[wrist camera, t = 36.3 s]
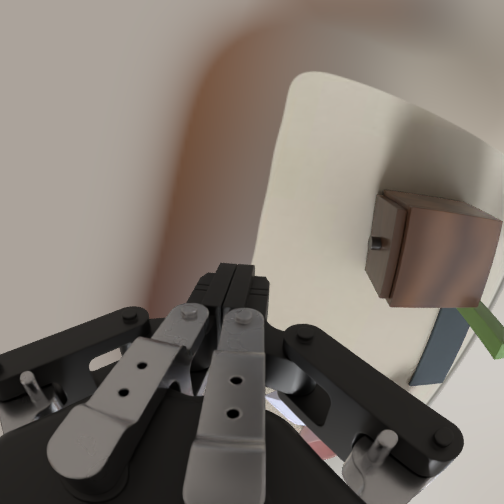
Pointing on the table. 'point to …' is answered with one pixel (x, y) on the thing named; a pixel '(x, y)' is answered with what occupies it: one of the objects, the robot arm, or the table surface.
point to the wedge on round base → (283, 408)
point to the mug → (316, 444)
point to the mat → (441, 348)
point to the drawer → (385, 244)
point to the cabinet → (443, 253)
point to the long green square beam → (486, 328)
